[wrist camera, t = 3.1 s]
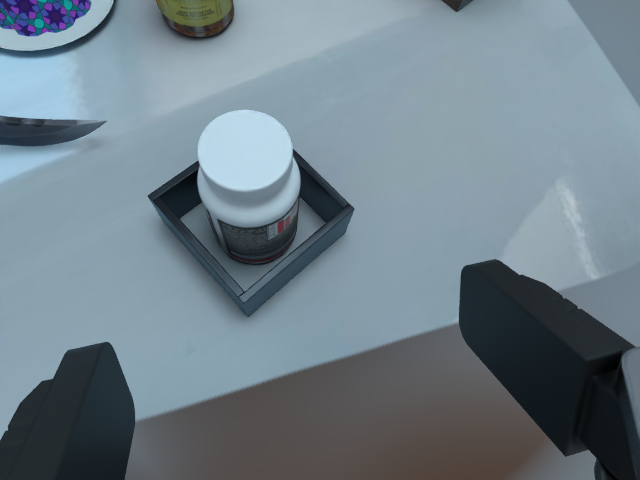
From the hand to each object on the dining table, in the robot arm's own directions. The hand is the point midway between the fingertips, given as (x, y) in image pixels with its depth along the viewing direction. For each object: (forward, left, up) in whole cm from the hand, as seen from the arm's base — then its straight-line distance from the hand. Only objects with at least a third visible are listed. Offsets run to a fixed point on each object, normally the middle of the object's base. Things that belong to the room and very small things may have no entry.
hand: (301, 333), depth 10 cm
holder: (+9, -5, -18) cm, 21 cm away
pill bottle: (+9, -5, -19) cm, 21 cm away
